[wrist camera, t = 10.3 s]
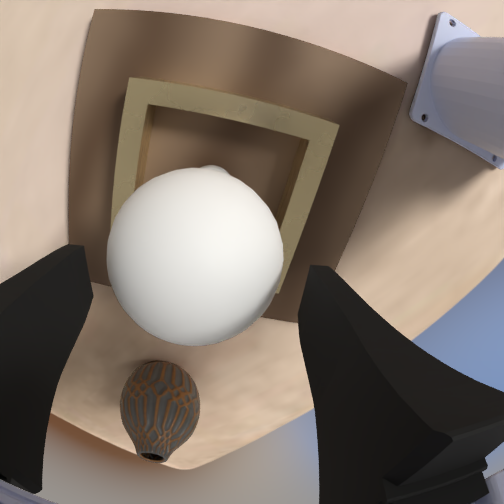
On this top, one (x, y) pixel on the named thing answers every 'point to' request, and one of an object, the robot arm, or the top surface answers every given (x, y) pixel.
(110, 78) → the lamp base
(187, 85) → the socket collar
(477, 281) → the top surface
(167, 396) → the vase
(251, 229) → the white light bulb
